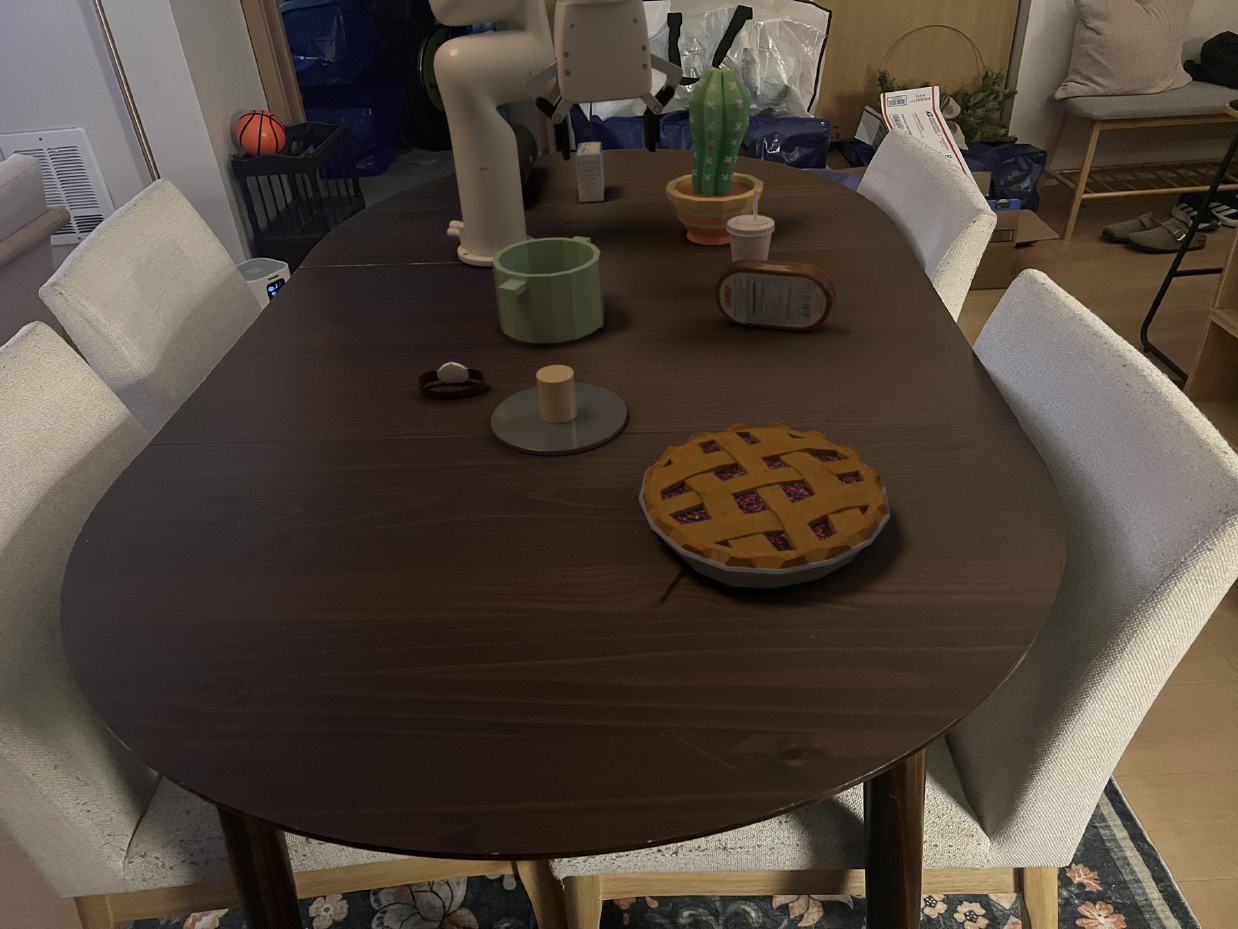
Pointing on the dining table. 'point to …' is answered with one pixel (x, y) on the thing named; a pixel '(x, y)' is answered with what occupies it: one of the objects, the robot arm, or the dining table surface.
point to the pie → (764, 504)
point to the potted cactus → (715, 159)
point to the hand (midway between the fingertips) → (608, 153)
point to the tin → (775, 294)
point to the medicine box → (590, 172)
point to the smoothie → (750, 235)
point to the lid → (558, 415)
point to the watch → (452, 381)
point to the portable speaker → (525, 151)
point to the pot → (549, 289)
